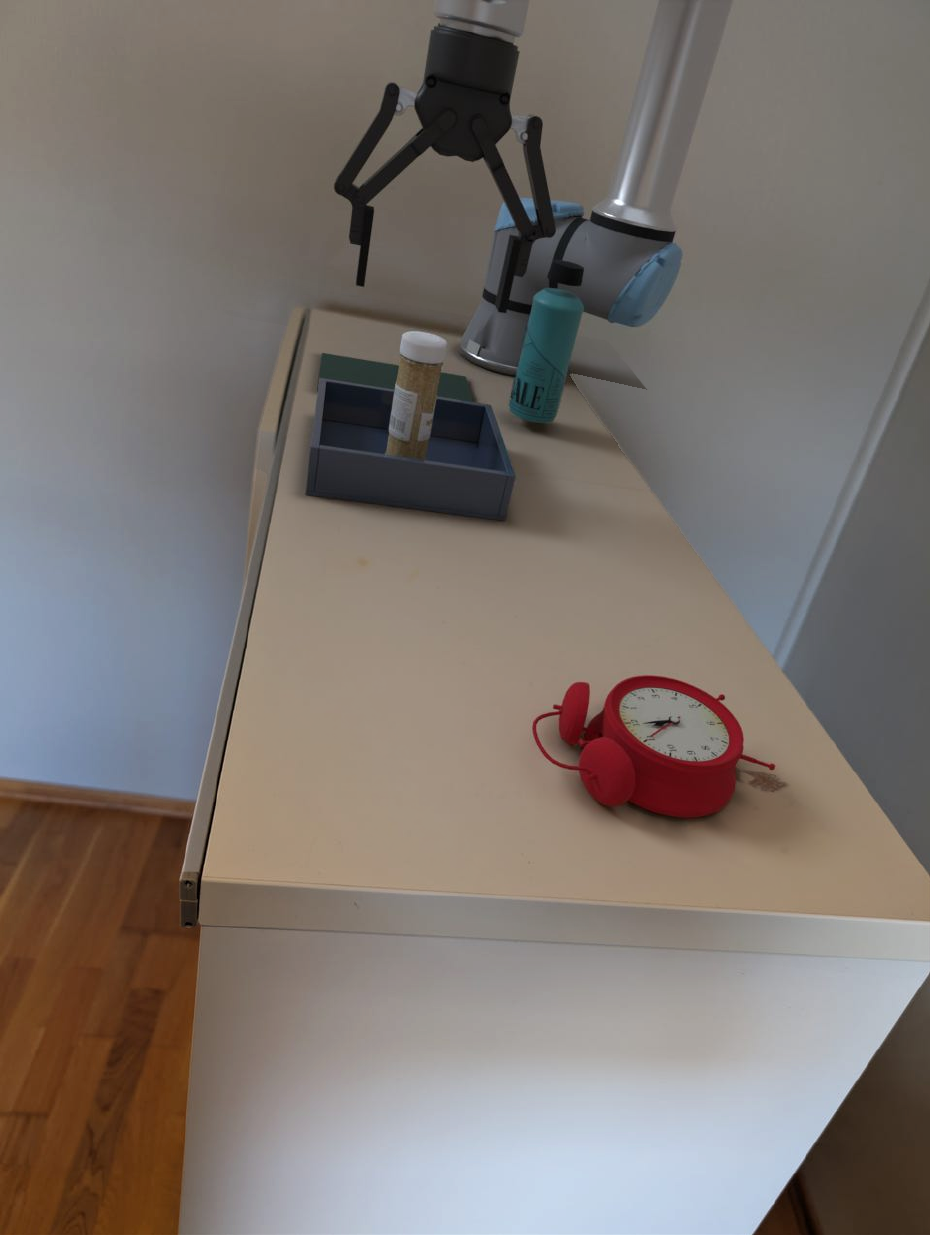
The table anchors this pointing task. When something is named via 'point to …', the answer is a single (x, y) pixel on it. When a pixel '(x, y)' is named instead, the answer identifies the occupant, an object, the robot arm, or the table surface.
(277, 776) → the table surface
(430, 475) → the open box
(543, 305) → the beverage bottle
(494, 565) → the table surface
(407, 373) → the sprinkles bottle
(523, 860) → the table surface
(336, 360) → the mat
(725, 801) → the alarm clock
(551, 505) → the table surface
